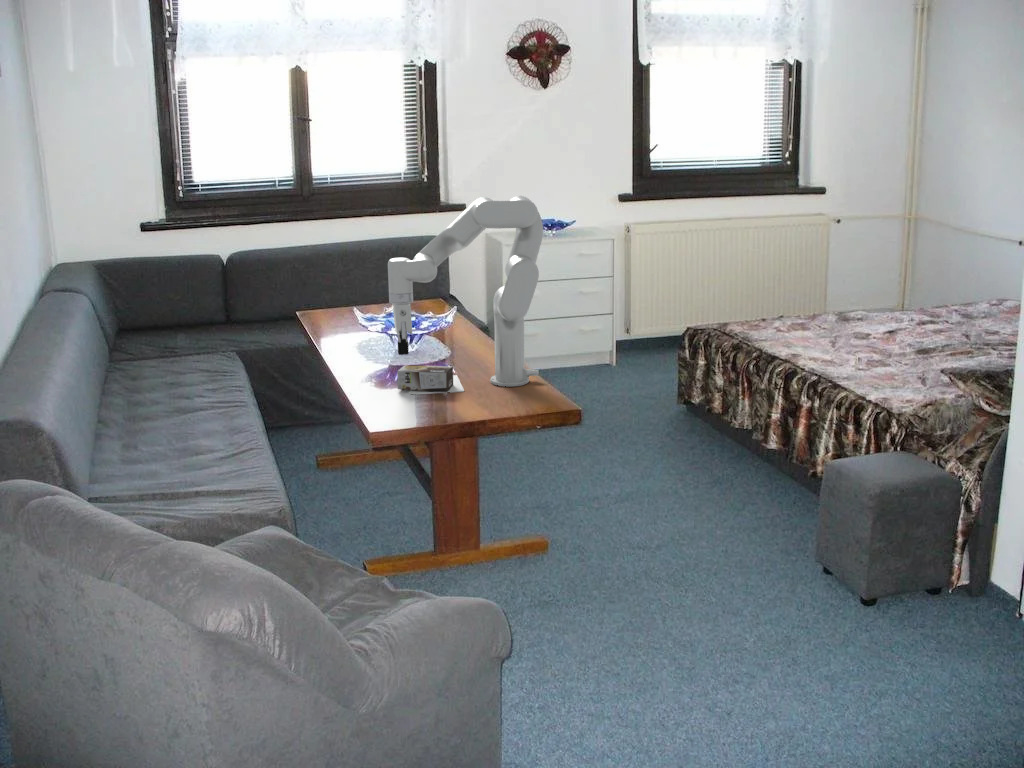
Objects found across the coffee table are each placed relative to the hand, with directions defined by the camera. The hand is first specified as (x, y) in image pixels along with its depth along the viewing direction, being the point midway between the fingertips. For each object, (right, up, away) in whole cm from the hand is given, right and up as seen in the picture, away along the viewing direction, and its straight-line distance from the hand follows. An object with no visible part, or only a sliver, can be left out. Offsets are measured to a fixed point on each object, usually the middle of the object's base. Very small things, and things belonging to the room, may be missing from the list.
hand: (403, 353), depth 353 cm
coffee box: (-1, -7, +1) cm, 8 cm away
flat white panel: (+10, -10, +5) cm, 15 cm away
